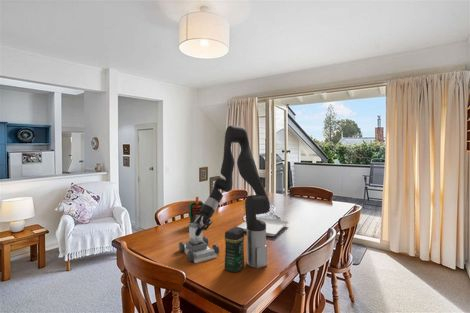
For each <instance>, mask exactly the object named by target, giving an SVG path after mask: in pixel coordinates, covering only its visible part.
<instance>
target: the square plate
mask: <svg viewBox="0 0 470 313" xmlns="http://www.w3.org/2000/svg"><path fill="white" fill-rule="evenodd" d="M256 219H258V220H262V221H264V222H265V223H266V237H267V236H268V237H274V236H276V235H277V234H278V233H279V232H280V231H281V230H282V229H284V228H285V227H286V226H287V225H288V224H289V223H290V222H289V221H287V220H280V219H275V218H270V217H263V216H256ZM237 227H240V228H243V230H244V232H246V233H247V224H246V221H244V222H242V223H240V224H239V225H237Z"/></svg>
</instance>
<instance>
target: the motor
mask: <svg viewBox="0 0 470 313" xmlns="http://www.w3.org/2000/svg"><path fill="white" fill-rule="evenodd" d="M204 203H205V202H202V201H199V196H195V201H194V202H190V203H189V223H190V222H191V220H192V218H193V215H194V214H195V215H198V214H199V213H200V209H201V208H202V206H203V205H204Z"/></svg>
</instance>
